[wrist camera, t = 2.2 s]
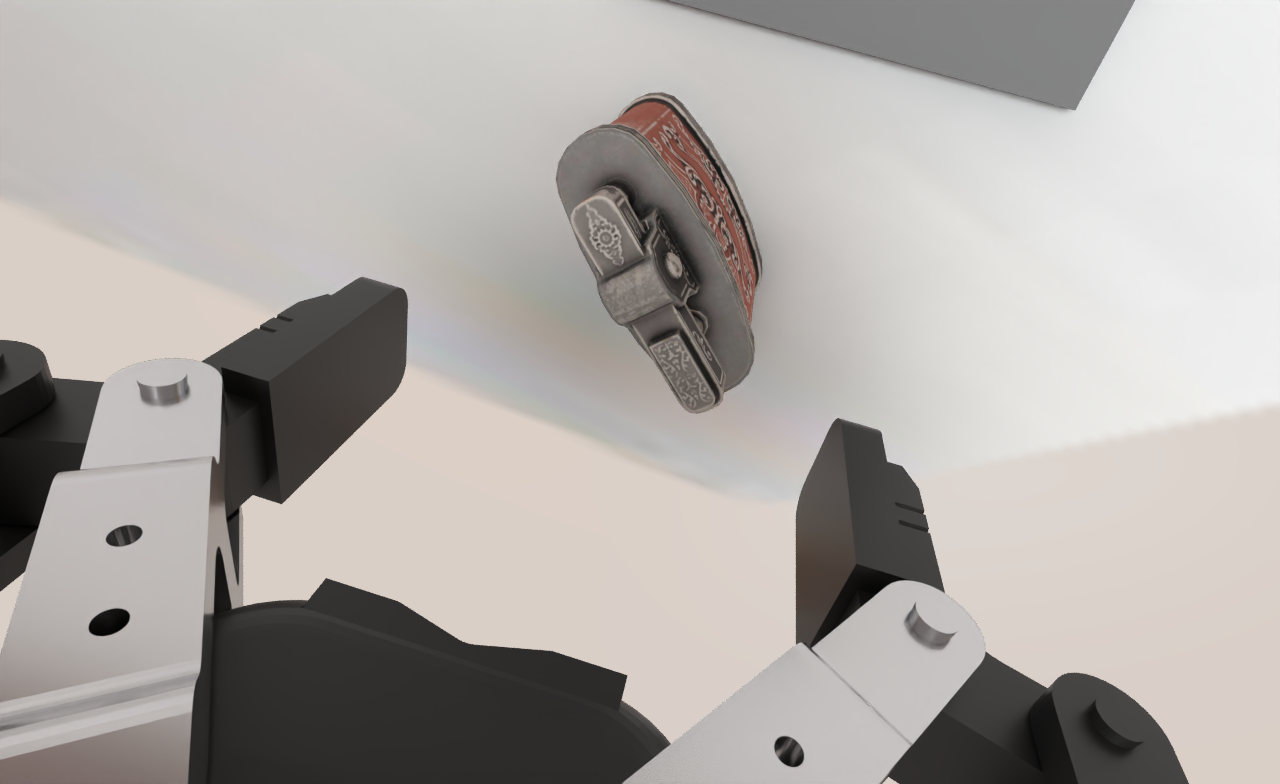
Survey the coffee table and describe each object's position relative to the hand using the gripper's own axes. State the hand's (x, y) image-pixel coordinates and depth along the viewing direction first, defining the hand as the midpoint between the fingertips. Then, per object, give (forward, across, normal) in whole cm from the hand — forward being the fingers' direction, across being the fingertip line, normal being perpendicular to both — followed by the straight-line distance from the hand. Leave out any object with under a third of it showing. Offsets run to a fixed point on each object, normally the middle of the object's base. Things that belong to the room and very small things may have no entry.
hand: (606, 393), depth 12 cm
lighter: (+14, 0, 0) cm, 14 cm away
